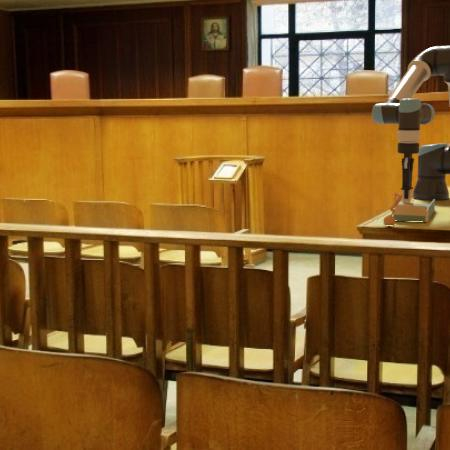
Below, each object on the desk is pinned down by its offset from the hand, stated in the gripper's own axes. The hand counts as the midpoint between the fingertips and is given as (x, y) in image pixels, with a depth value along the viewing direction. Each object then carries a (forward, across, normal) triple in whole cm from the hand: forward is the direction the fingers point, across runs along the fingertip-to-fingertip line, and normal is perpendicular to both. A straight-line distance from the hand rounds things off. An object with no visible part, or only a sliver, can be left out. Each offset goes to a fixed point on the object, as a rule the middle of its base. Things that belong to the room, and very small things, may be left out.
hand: (406, 207), depth 282 cm
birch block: (+1, +3, 0) cm, 3 cm away
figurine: (+4, +21, -2) cm, 22 cm away
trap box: (+4, -5, +2) cm, 7 cm away
